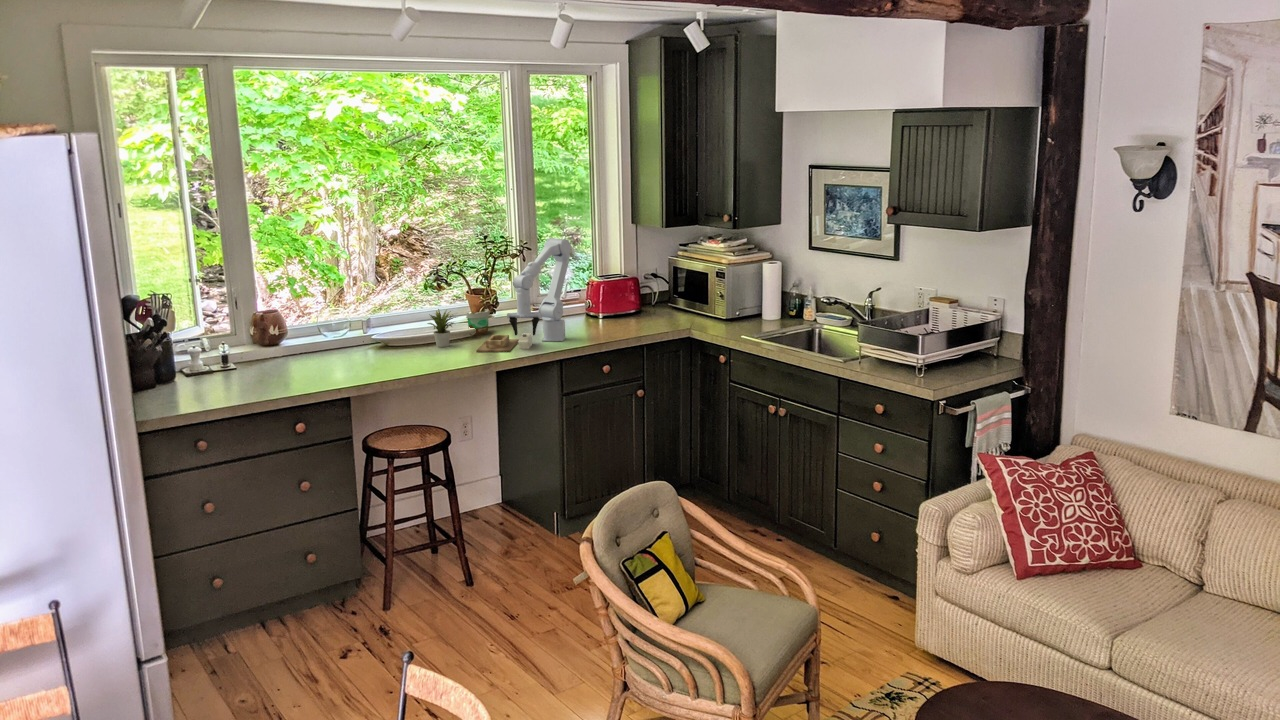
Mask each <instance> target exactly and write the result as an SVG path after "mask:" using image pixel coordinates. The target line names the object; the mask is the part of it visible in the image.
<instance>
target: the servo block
mask: <svg viewBox="0 0 1280 720" xmlns="http://www.w3.org/2000/svg"><path fill="white" fill-rule="evenodd" d="M533 337H534V335H533V332H532V333H528V332H527V333H525V332H524V333H521V335H520V336H519V337H518V339H519V341H518V343H517V344H518V345H519V347H518V348H519V350H529V349H530V348H531V347H532V346H533Z"/></svg>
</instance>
